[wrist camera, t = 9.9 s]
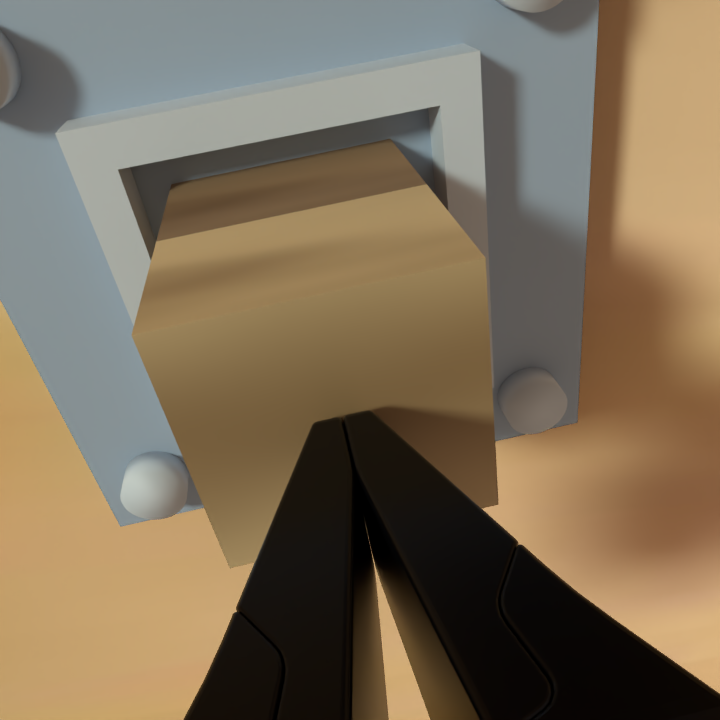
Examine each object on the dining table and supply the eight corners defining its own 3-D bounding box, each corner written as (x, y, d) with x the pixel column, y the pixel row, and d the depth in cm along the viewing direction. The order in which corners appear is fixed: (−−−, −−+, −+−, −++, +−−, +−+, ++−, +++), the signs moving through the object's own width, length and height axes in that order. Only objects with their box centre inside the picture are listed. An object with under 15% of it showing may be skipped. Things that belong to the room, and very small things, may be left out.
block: (414, 325, 16) (498, 504, 11) (231, 366, 15) (229, 568, 10) (389, 138, 13) (486, 257, 8) (171, 184, 13) (130, 335, 8)
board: (559, 397, 19) (593, 445, 17) (126, 495, 19) (114, 555, 17) (576, -151, 12) (637, -168, 10) (-134, -23, 11) (-205, -17, 9)
